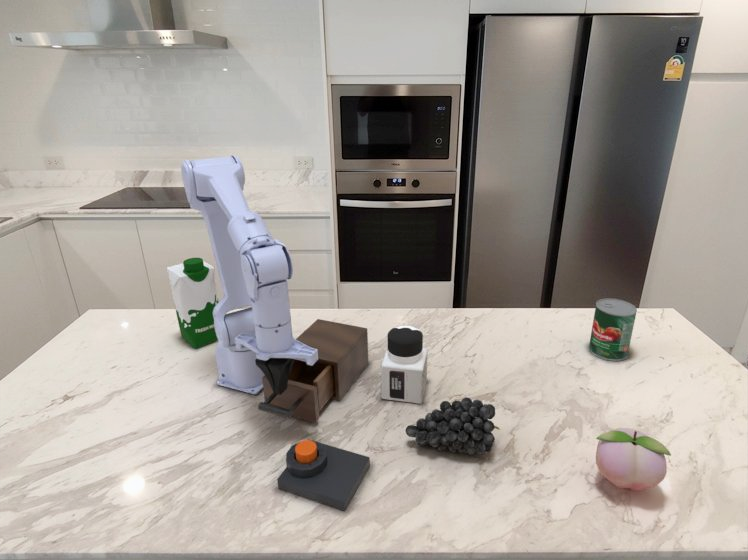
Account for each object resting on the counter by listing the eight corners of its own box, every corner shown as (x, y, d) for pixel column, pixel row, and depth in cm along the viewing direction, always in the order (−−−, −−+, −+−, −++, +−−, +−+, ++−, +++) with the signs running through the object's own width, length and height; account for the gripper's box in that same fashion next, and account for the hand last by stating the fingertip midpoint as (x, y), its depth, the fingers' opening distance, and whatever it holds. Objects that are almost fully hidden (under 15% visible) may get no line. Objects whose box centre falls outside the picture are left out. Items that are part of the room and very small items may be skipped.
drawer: (302, 440, 79) (298, 407, 77) (250, 425, 83) (245, 393, 80) (347, 382, 94) (346, 353, 91) (301, 372, 98) (298, 343, 95)
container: (421, 404, 89) (423, 344, 84) (381, 399, 91) (380, 339, 86) (426, 380, 96) (428, 323, 91) (388, 376, 98) (388, 319, 93)
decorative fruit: (649, 468, 74) (663, 416, 70) (665, 512, 67) (681, 456, 63) (584, 458, 76) (594, 407, 72) (593, 499, 69) (605, 445, 65)
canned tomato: (630, 348, 106) (639, 303, 102) (624, 365, 100) (634, 318, 96) (592, 338, 110) (599, 295, 106) (584, 354, 104) (592, 309, 100)
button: (292, 460, 72) (291, 451, 72) (303, 446, 75) (302, 437, 74) (310, 466, 71) (309, 457, 71) (321, 452, 74) (320, 443, 73)
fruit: (404, 407, 74) (503, 408, 73) (405, 390, 82) (494, 390, 81) (405, 461, 75) (502, 463, 74) (406, 439, 83) (494, 440, 82)
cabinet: (339, 401, 90) (337, 362, 87) (286, 388, 94) (282, 350, 91) (368, 363, 102) (367, 328, 98) (320, 353, 106) (317, 318, 103)
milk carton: (193, 352, 107) (177, 269, 99) (176, 337, 113) (160, 258, 105) (229, 338, 112) (217, 258, 105) (211, 324, 118) (198, 248, 111)
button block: (275, 487, 72) (272, 469, 70) (305, 447, 79) (304, 430, 78) (344, 511, 68) (343, 493, 66) (369, 466, 75) (369, 448, 74)
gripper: (218, 323, 75) (229, 394, 80) (299, 340, 70) (305, 415, 75) (246, 304, 81) (255, 372, 86) (322, 318, 76) (327, 389, 81)
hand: (280, 390), depth 81 cm, fingers closed
